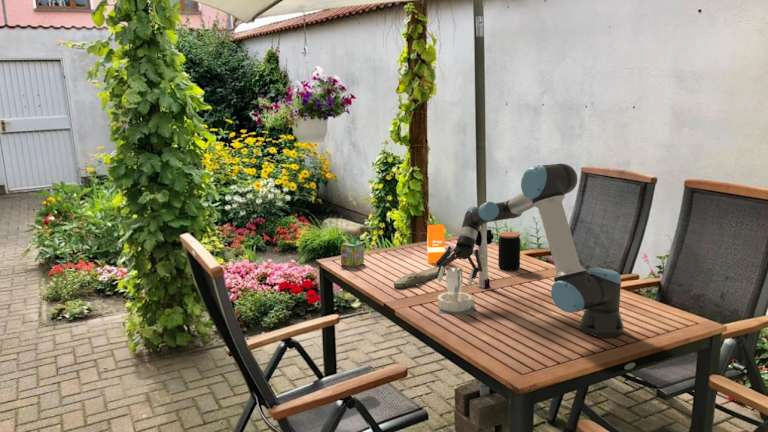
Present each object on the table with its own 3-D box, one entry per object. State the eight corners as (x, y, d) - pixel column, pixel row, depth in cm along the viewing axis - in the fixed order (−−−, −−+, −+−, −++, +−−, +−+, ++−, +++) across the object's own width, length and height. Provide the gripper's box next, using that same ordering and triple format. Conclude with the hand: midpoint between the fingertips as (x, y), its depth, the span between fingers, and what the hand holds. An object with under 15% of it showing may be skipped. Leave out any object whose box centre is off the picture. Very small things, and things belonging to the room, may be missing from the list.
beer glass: (458, 307, 244) (458, 272, 241) (443, 305, 248) (442, 270, 245) (465, 302, 250) (465, 268, 247) (450, 300, 253) (450, 266, 250)
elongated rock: (450, 276, 298) (434, 274, 305) (450, 266, 297) (434, 264, 304) (404, 290, 272) (388, 287, 279) (404, 279, 272) (388, 276, 279)
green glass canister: (340, 265, 318) (339, 238, 315) (351, 261, 325) (350, 235, 323) (354, 267, 313) (353, 240, 310) (364, 263, 320) (363, 236, 317)
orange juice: (444, 262, 317) (444, 226, 313) (428, 263, 317) (427, 226, 313) (443, 259, 325) (443, 223, 321) (427, 259, 325) (426, 223, 321)
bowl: (471, 312, 241) (471, 303, 240) (436, 311, 243) (436, 302, 242) (471, 301, 255) (471, 292, 254) (439, 300, 257) (438, 291, 256)
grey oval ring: (473, 315, 239) (473, 314, 239) (438, 314, 241) (438, 313, 241) (474, 300, 256) (474, 299, 256) (441, 300, 259) (441, 298, 259)
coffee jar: (522, 267, 305) (523, 232, 301) (515, 272, 296) (515, 237, 292) (502, 264, 310) (503, 230, 307) (495, 269, 302) (495, 235, 298)
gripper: (496, 246, 254) (484, 290, 244) (442, 241, 266) (429, 283, 256) (492, 237, 248) (480, 282, 238) (437, 232, 260) (423, 275, 250)
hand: (454, 282), depth 247 cm, fingers open, 13 cm apart
